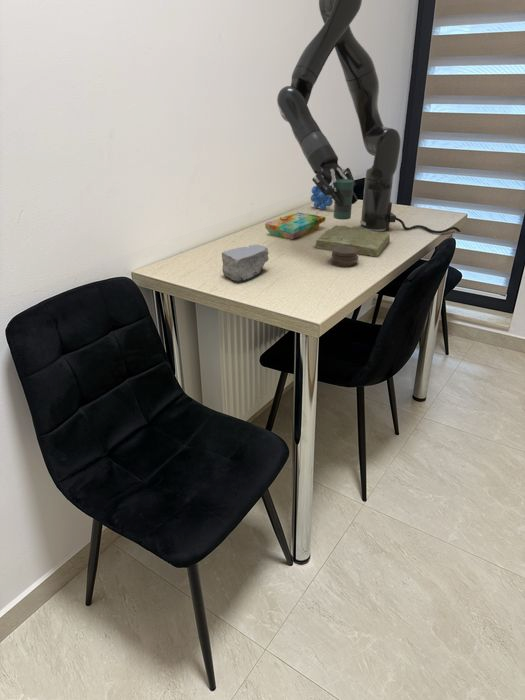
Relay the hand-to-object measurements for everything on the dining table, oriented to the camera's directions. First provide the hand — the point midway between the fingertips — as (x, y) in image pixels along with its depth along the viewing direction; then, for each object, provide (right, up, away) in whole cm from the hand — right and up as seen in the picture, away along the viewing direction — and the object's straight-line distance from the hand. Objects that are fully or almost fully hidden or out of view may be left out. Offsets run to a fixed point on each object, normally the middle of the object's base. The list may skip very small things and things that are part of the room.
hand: (348, 203), depth 142 cm
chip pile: (0, -15, +9) cm, 17 cm away
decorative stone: (-29, -20, 0) cm, 35 cm away
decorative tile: (+6, -6, +25) cm, 26 cm away
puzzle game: (-12, +1, +38) cm, 40 cm away
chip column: (-1, -3, +3) cm, 4 cm away
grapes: (+1, +16, +66) cm, 68 cm away
